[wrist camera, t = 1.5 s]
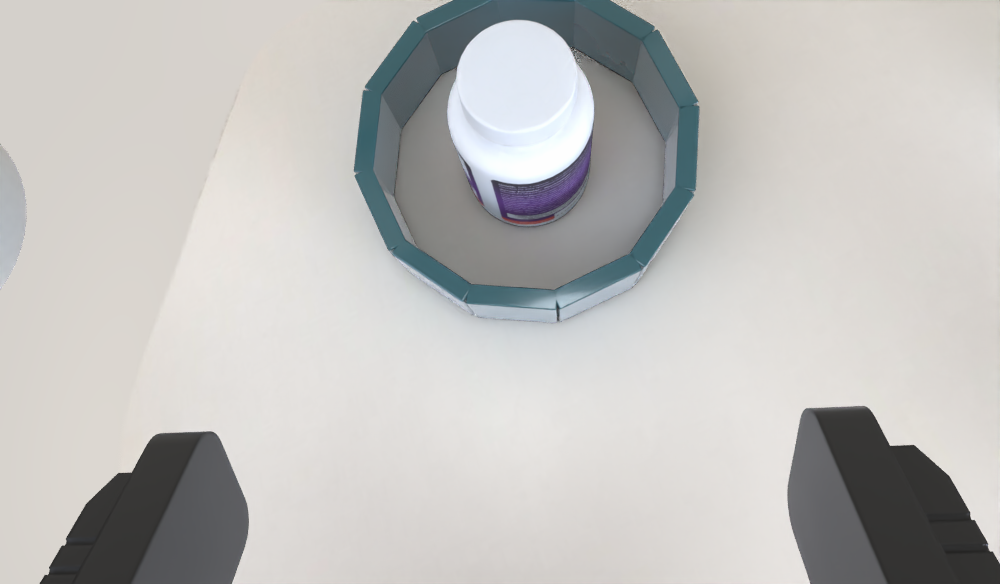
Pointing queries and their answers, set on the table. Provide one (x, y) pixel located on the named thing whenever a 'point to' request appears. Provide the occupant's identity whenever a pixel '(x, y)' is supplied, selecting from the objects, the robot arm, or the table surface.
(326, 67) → the table surface
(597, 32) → the faceted teal band
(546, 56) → the pill bottle
